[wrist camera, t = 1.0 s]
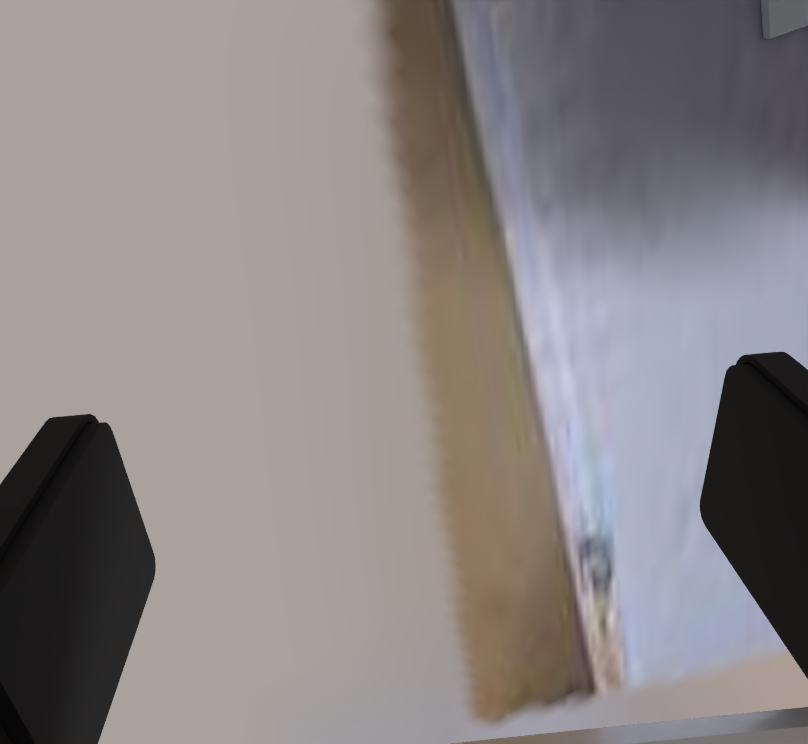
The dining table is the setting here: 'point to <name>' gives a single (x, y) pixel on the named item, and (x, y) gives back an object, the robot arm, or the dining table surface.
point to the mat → (783, 16)
